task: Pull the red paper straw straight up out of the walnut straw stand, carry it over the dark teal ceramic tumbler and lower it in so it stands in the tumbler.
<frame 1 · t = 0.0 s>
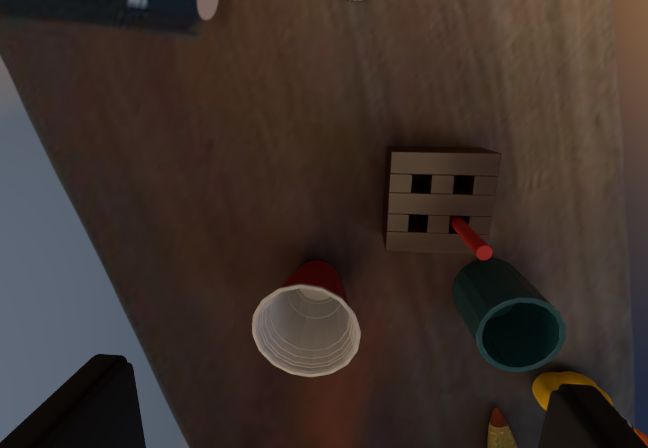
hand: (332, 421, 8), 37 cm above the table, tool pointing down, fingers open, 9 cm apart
duckling: (563, 381, 49), on the table
straw: (445, 210, 44), resting in straw stand
straw stand: (429, 192, 43), on the table
plastic cup: (317, 281, 48), on the table
tumbler: (486, 289, 46), on the table
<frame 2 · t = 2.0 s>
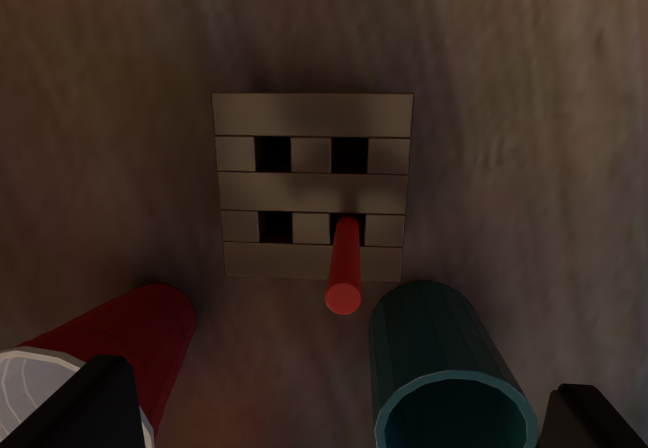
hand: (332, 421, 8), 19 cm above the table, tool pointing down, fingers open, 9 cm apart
straw: (349, 203, 27), resting in straw stand
straw stand: (320, 174, 26), on the table
plastic cup: (163, 315, 31), on the table
tumbler: (422, 329, 29), on the table
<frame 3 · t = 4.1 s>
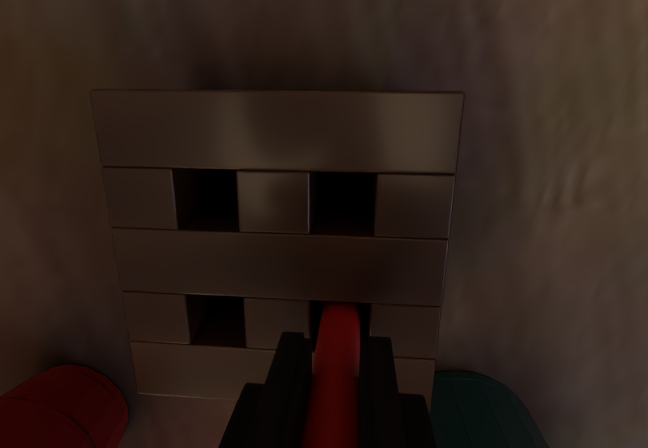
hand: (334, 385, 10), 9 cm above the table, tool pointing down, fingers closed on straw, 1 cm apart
straw: (345, 259, 18), resting in straw stand, touching gripper
straw stand: (301, 216, 17), on the table
plastic cup: (84, 405, 22), on the table
tumbler: (451, 436, 20), on the table
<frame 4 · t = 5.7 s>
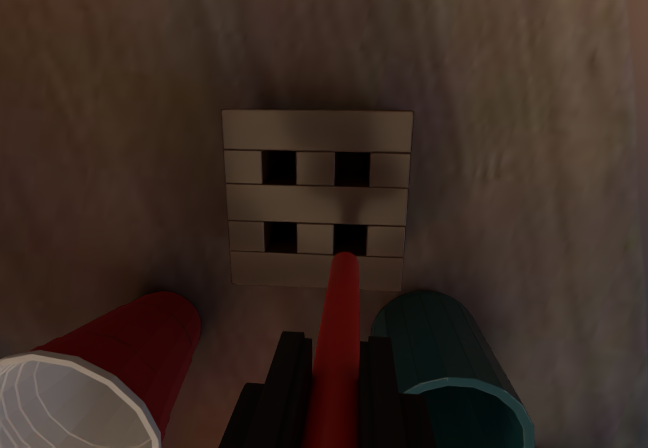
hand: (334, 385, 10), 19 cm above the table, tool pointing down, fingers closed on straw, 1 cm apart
straw: (345, 264, 18), point 10 cm above the table, touching gripper
straw stand: (324, 186, 27), on the table
plastic cup: (169, 322, 32), on the table
tumbler: (423, 338, 30), on the table
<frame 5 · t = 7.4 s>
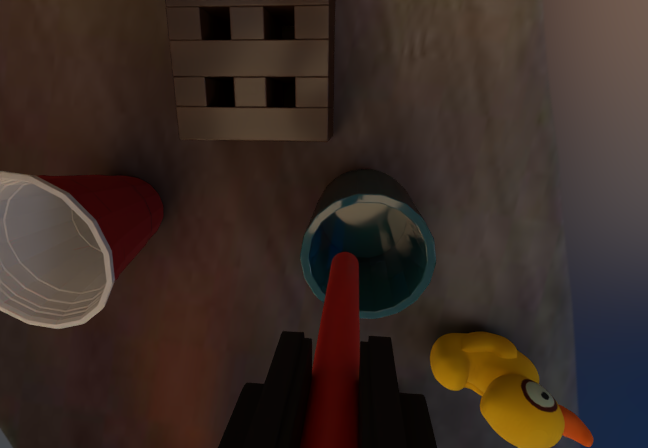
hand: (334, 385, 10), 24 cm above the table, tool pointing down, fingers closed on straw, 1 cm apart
duckling: (478, 347, 36), on the table
straw: (345, 264, 18), point 15 cm above the table, touching gripper
straw stand: (269, 68, 30), on the table
plastic cup: (134, 208, 35), on the table
tumbler: (363, 216, 33), on the table
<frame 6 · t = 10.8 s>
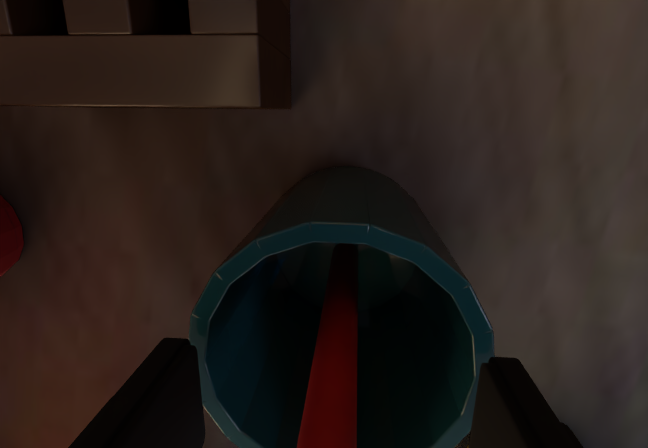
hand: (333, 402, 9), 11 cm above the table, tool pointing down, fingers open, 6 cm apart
straw: (345, 253, 19), point 1 cm above the table, touching tumbler
tumbler: (346, 245, 20), on the table, touching straw
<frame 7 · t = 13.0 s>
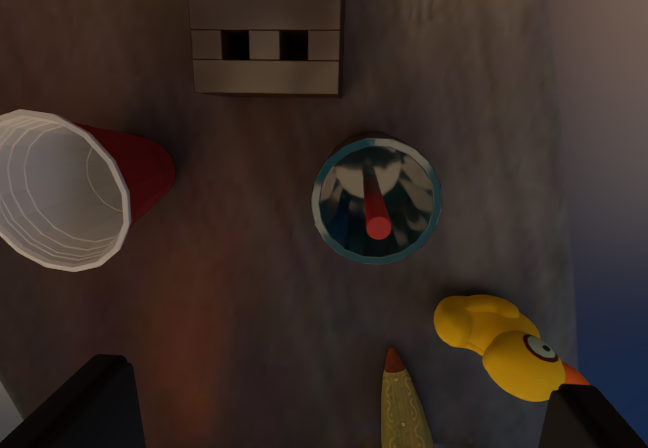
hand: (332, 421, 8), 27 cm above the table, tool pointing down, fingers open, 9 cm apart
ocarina: (403, 418, 41), on the table
duckling: (481, 312, 37), on the table
straw: (370, 182, 33), point 1 cm above the table, touching tumbler
straw stand: (281, 30, 31), on the table
plastic cup: (147, 170, 35), on the table
tumbler: (370, 178, 34), on the table, touching straw
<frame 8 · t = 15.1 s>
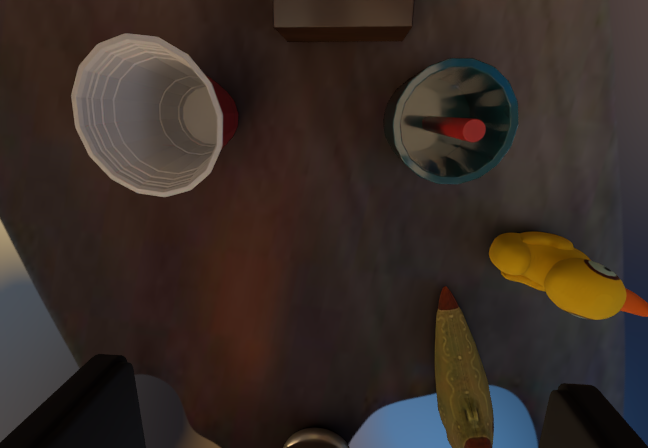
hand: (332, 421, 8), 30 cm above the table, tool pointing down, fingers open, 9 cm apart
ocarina: (452, 360, 42), on the table
duckling: (531, 251, 38), on the table
straw: (428, 123, 35), point 1 cm above the table, touching tumbler
plastic cup: (210, 118, 37), on the table
tumbler: (428, 120, 35), on the table, touching straw
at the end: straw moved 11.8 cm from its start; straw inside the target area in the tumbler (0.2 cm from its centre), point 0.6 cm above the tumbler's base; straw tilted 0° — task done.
